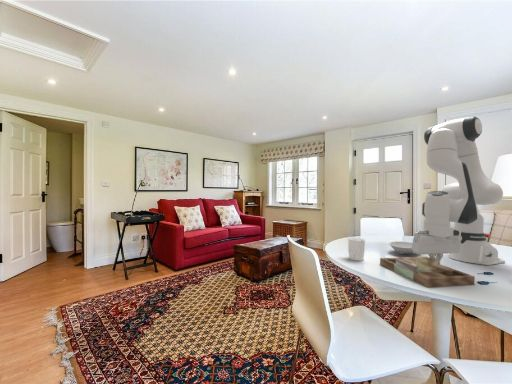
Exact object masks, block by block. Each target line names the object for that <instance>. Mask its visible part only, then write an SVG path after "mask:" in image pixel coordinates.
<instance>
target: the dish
mask: <svg viewBox="0 0 512 384" xmlns="http://www.w3.org/2000/svg"><path fill="white" fill-rule="evenodd" d="M412 243H413V242H410V241H400V240H399V241H396V240H395V241H390V242H388V245H389V246H390V247H391V248H392V249H393V250H394V251H396V252H397V253H401V254H403V255H406V254H411V253H412V254H413V251H412Z"/></svg>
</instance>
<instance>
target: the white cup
mask: <svg viewBox="0 0 512 384" xmlns="http://www.w3.org/2000/svg"><path fill="white" fill-rule="evenodd" d="M347 240H348V241H347V247H348V248H347V249H348V259H349V260H352V261H358V262H361V261H364V255H365V249H366V239H365V238H362V237H355V236H354V237H348V238H347Z"/></svg>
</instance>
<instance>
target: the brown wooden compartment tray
mask: <svg viewBox="0 0 512 384" xmlns="http://www.w3.org/2000/svg"><path fill="white" fill-rule="evenodd" d="M416 257H417V256H405V257H404V256H403V257H400V256H399V257H380V258H379V265H380V266H383V267H384V268H386V269H388V270H390V271H392V272H395V273H397V274H399V275H401V276H403V277H405V278H407V279H409V280H411V281H414V282H415V283H417V284H419V285H422V286H424V287H426V288H438V287H453V286H454V287H455V286H456V287H457V286H472V285H473V286H474V285H475V283H476V281H475V278H476V277H475V275H472V274H469V273H466V272H463V271H460V270H458V269H457V270H456V269H455V268H451V267H448V266H446V265H443V264H441V263H440V264H438V265H437V270H424V269H421V268H419V267H418V266H416Z"/></svg>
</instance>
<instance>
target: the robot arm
mask: <svg viewBox="0 0 512 384" xmlns="http://www.w3.org/2000/svg"><path fill="white" fill-rule="evenodd" d="M482 132H483V124H482V122H481V120H480V119H479V118H478V117H477V116H473V115H472V116H466V117H462V118H456V119H451V120H449V121H445V122H442V123H440V124H437V125H432V126H430V127H428V128H426V130H425V131H424V134H423V138H424V142H425V144H426V145H427V148H426V164H427V166H428V167H429V169H431V170H433V171H434V172H436V173H438V174H441V175H446V176H449V177H452V178H454V179H455V180H456V181H457V182H456V181H455V182H452V183H448V184H445V185H444V186H443V187H442V189H441V190H433V191H432V190H431V191H429V192H428V191H427V193H426V195H425V199H424V202H423V203H422V205H421V206H422V207H421V208H422V211H421V215H422V216H424V221H423V230H422V231H421V230H418V231H416V232H415V233H414V235H413V238H412V242H411V243H412V251H413V252H412V254H416V255H419V256H421V255H428V257H430V258H433V259H436V260H437V265H438V264H440V265H441V260H442V259H443V257H444V254H445V255H446V254H447V255H449V258H451V259H453V260H455V261H456V260H457V261H459V262H465V263H470V264H478V265H482V266H491V265H492V266H493V265H497V264H504V262H505V263H506V260H505V259H503V258H499V251H498V249H497V248H496V247H495V246H493V245H492V244H491V243H490V242H488V241H487V238H488V239H490V238H491V234H490V233H485V232H484V226H485V225H484V223H485V221H484V219H485V218H484V216H483V215H482V214H481V213H480V212H479V207H478V205H480V206H482V205H483V206H487V205H489V206H490V205H495V204H497V203H499V202H501V200H502V198H503V195H504V191H503V188H502V187H501V186H500V185H499V184H498V183H496V182H494V181H493V180H491V179H490V178H488V176H487V175H486V174H485V173H484V170H483V169H482V166H481V161H480V157H479V151H478V147H477V143H476V139H478V138H479V137H480V135H481V134H482ZM451 223H454V227H453V228H452V227H451Z"/></svg>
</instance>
